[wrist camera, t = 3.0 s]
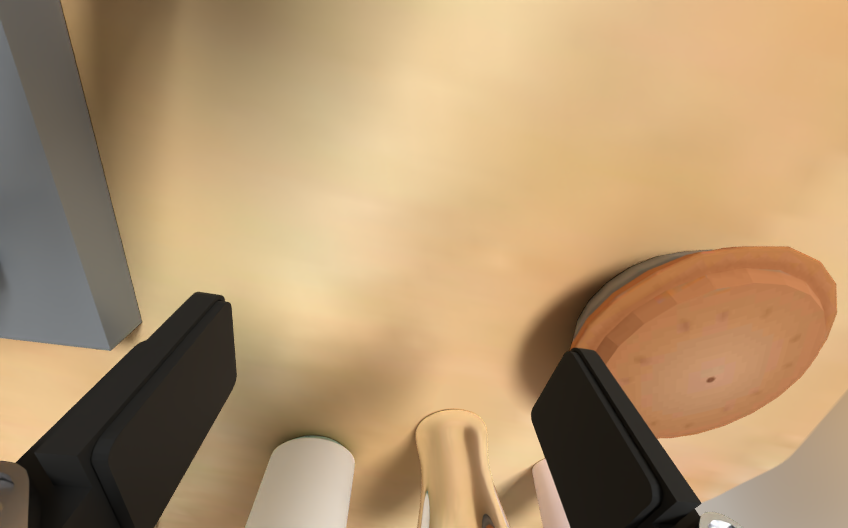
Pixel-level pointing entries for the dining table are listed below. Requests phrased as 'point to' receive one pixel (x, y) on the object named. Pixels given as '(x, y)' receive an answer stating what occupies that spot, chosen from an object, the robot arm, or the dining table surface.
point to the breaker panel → (54, 195)
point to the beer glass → (456, 473)
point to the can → (305, 486)
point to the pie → (709, 332)
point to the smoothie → (548, 497)
